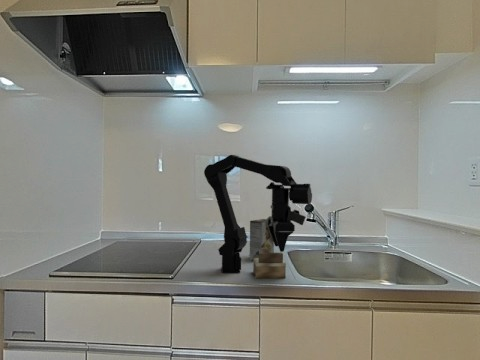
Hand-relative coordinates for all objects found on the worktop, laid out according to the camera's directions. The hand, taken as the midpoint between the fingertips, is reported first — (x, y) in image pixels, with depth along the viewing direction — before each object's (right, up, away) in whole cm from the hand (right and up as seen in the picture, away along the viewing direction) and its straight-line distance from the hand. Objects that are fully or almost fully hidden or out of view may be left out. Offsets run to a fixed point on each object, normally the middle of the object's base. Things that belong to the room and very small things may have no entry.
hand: (279, 248), depth 125 cm
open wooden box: (-3, -10, +3) cm, 11 cm away
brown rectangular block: (-3, -4, 0) cm, 5 cm away
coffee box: (-4, -10, +28) cm, 30 cm away
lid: (-3, -6, +3) cm, 7 cm away
